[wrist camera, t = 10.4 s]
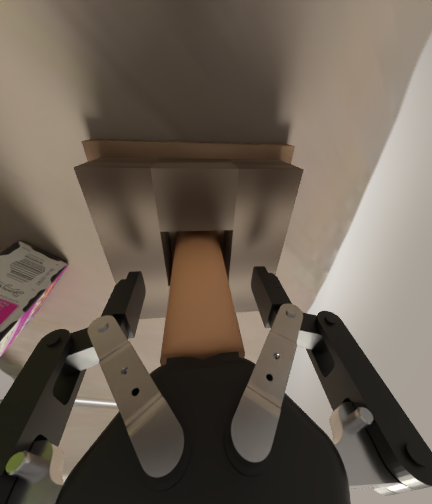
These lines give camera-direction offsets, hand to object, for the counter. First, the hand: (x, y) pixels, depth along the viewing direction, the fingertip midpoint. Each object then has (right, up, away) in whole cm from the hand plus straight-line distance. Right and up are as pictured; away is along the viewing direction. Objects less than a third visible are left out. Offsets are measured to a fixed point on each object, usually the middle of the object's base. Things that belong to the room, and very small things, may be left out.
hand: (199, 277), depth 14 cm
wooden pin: (-1, +3, +5) cm, 6 cm away
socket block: (-1, +4, +6) cm, 8 cm away
